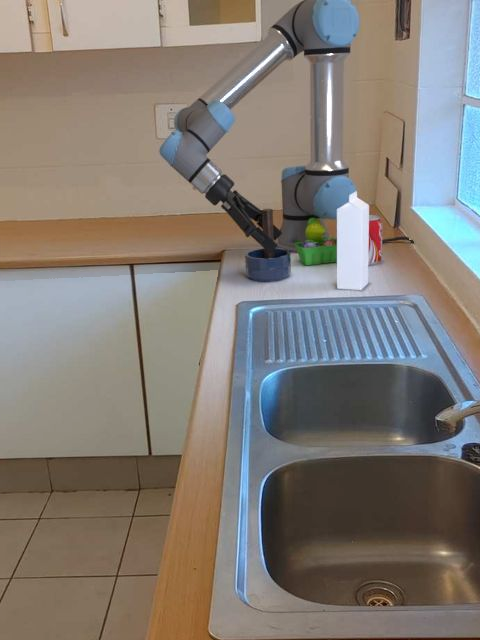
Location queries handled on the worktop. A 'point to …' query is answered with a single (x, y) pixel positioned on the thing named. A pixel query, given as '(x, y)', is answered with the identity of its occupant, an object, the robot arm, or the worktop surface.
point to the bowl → (268, 265)
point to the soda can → (375, 240)
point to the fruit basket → (316, 245)
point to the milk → (352, 244)
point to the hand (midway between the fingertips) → (276, 243)
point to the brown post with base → (268, 228)
